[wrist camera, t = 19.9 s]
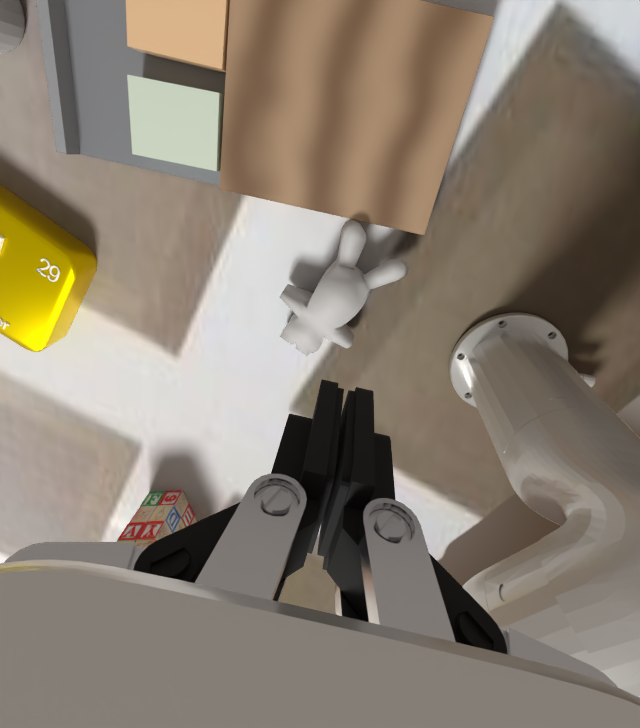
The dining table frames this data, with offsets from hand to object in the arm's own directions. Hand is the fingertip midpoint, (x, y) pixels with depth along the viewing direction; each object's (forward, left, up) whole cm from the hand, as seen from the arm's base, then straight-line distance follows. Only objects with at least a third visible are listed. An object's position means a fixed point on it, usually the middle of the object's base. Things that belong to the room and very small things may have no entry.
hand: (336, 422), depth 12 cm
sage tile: (+18, -6, -31) cm, 36 cm away
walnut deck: (+4, -10, -31) cm, 33 cm away
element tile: (+38, +11, -32) cm, 51 cm away
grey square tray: (+22, -10, -31) cm, 39 cm away
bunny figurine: (+1, +6, -32) cm, 32 cm away
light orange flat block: (+18, -14, -31) cm, 38 cm away
